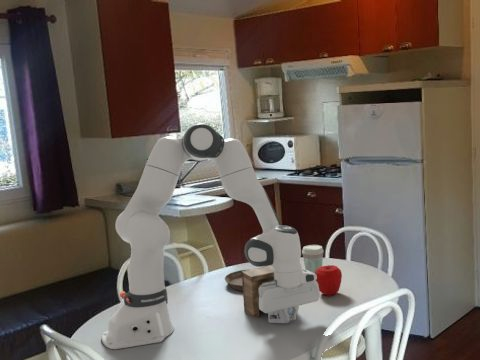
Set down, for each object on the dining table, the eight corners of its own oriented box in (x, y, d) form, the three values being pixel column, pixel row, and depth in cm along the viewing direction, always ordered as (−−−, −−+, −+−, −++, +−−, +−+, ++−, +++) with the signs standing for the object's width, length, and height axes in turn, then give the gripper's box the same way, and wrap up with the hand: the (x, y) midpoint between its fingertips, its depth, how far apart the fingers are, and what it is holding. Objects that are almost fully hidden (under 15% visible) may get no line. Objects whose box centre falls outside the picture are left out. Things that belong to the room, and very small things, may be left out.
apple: (330, 287, 214) (329, 259, 213) (348, 293, 206) (347, 264, 205) (310, 293, 209) (308, 264, 207) (327, 300, 201) (326, 270, 199)
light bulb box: (288, 324, 183) (286, 291, 181) (268, 323, 184) (265, 291, 183) (293, 311, 193) (291, 280, 192) (273, 311, 195) (271, 280, 193)
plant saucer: (279, 275, 234) (278, 267, 233) (277, 292, 213) (276, 284, 213) (228, 277, 236) (228, 269, 236) (221, 294, 216) (221, 286, 215)
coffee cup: (299, 275, 231) (298, 246, 229) (319, 272, 233) (317, 243, 232) (308, 281, 223) (307, 251, 221) (328, 278, 225) (327, 248, 224)
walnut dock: (253, 317, 190) (251, 276, 188) (244, 311, 197) (241, 271, 195) (293, 308, 196) (291, 268, 194) (283, 301, 203) (280, 263, 201)
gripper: (262, 286, 173) (265, 330, 175) (321, 274, 181) (323, 316, 183) (253, 281, 179) (256, 323, 181) (310, 269, 187) (313, 310, 189)
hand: (290, 319), depth 182 cm, fingers closed
